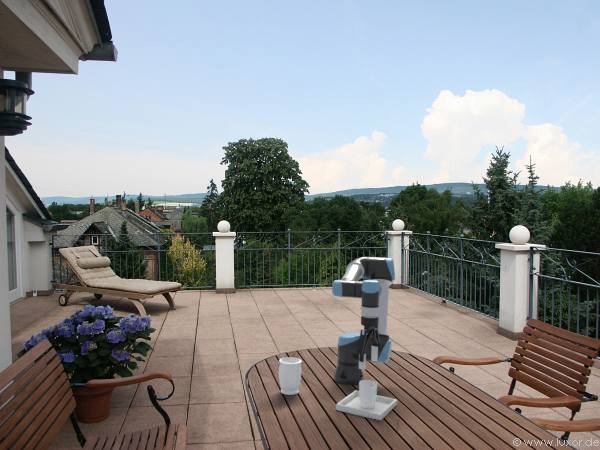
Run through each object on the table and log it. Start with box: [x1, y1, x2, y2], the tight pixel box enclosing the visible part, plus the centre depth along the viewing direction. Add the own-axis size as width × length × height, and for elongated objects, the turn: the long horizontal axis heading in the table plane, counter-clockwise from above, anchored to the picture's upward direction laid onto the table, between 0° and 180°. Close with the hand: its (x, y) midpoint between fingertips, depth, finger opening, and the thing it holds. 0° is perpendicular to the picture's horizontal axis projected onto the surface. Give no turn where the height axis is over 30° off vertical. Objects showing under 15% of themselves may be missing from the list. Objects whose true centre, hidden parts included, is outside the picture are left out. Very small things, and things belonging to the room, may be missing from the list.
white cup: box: [358, 379, 378, 409], centre depth 205 cm, size 8×8×10 cm
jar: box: [278, 356, 302, 396], centre depth 221 cm, size 11×10×15 cm
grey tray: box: [335, 389, 398, 422], centre depth 205 cm, size 20×20×2 cm
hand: (368, 364), depth 205 cm, fingers open, 13 cm apart
